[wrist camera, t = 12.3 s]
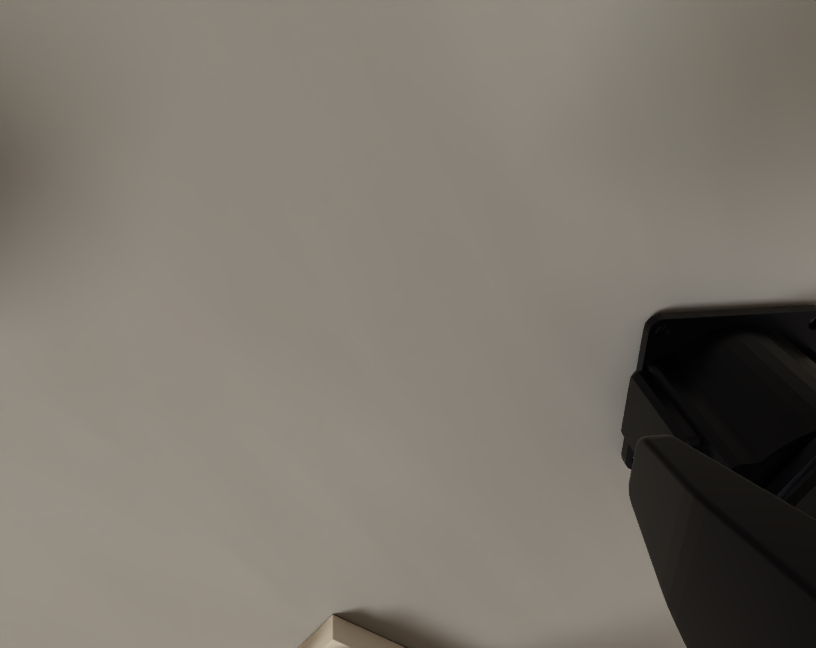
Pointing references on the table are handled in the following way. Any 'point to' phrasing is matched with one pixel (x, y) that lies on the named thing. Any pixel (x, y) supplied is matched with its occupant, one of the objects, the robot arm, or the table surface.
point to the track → (345, 636)
